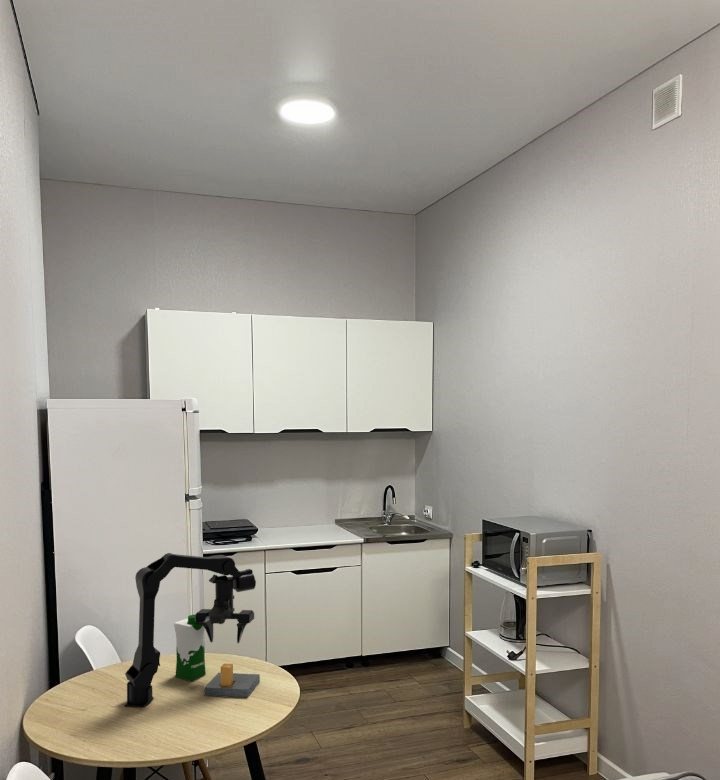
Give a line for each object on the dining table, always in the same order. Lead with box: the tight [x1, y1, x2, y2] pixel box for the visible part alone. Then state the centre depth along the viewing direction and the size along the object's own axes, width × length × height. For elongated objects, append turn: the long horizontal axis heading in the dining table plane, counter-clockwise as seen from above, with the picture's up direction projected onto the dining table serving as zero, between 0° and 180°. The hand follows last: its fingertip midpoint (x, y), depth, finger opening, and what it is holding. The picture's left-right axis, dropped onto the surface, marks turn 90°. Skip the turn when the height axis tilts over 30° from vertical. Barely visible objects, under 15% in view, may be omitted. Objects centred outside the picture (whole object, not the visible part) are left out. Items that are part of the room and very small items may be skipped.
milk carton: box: [173, 614, 207, 682], centre depth 224 cm, size 9×9×20 cm
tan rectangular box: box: [219, 663, 234, 686], centre depth 210 cm, size 3×3×8 cm
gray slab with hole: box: [203, 672, 261, 699], centre depth 212 cm, size 14×12×2 cm
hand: (225, 642), depth 220 cm, fingers open, 9 cm apart
